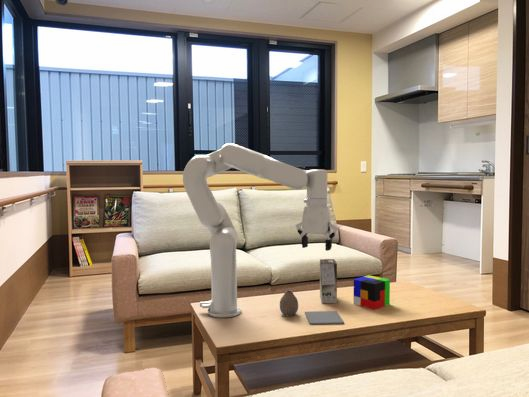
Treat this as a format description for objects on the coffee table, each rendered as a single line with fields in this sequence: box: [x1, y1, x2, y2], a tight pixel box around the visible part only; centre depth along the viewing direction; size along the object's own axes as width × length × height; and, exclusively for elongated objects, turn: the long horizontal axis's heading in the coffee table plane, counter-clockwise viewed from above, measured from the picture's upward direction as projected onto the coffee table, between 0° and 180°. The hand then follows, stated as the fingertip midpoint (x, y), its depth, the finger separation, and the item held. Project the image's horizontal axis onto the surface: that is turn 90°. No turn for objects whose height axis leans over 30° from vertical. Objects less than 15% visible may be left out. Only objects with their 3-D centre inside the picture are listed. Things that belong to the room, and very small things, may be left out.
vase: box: [279, 290, 299, 317], centre depth 156 cm, size 7×7×9 cm
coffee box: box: [319, 258, 338, 304], centre depth 173 cm, size 9×6×16 cm
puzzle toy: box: [353, 275, 391, 311], centre depth 167 cm, size 10×10×10 cm
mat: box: [304, 310, 345, 326], centre depth 151 cm, size 12×12×1 cm
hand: (316, 248), depth 157 cm, fingers open, 9 cm apart
